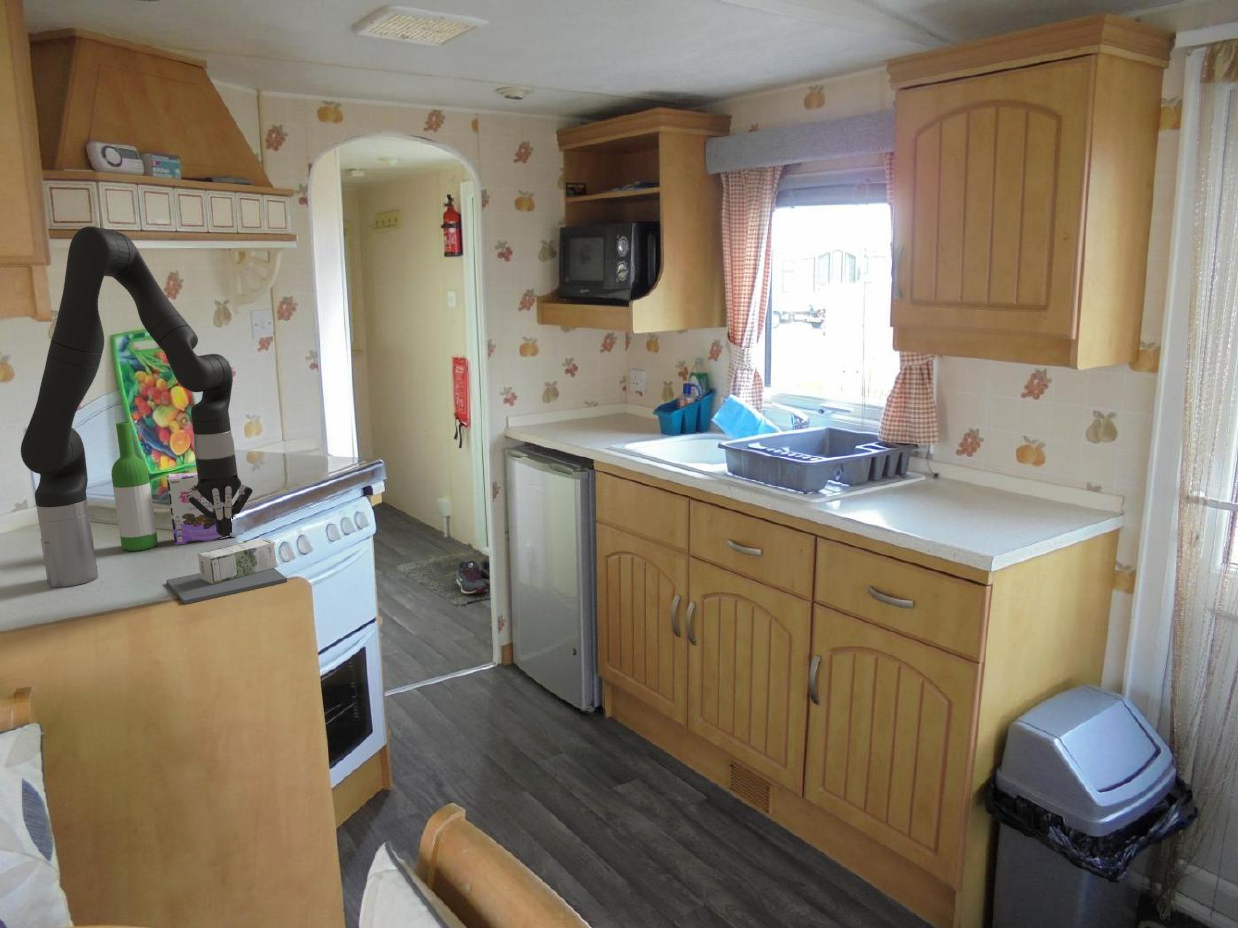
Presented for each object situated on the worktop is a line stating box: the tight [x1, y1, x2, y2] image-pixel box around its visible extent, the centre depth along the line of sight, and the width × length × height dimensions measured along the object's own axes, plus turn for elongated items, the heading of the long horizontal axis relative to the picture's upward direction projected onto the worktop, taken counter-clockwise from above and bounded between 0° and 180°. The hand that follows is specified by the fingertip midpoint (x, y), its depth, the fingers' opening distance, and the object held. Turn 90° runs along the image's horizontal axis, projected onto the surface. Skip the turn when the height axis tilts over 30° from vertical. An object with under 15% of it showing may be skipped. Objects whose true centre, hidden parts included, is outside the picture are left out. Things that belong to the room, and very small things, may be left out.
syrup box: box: [197, 537, 278, 584], centre depth 199 cm, size 6×6×14 cm
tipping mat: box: [166, 567, 288, 605], centre depth 196 cm, size 20×16×1 cm
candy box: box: [166, 471, 235, 546], centre depth 227 cm, size 14×6×16 cm, turn 114°
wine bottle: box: [111, 421, 158, 552], centre depth 220 cm, size 8×8×30 cm
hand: (225, 535), depth 194 cm, fingers closed
